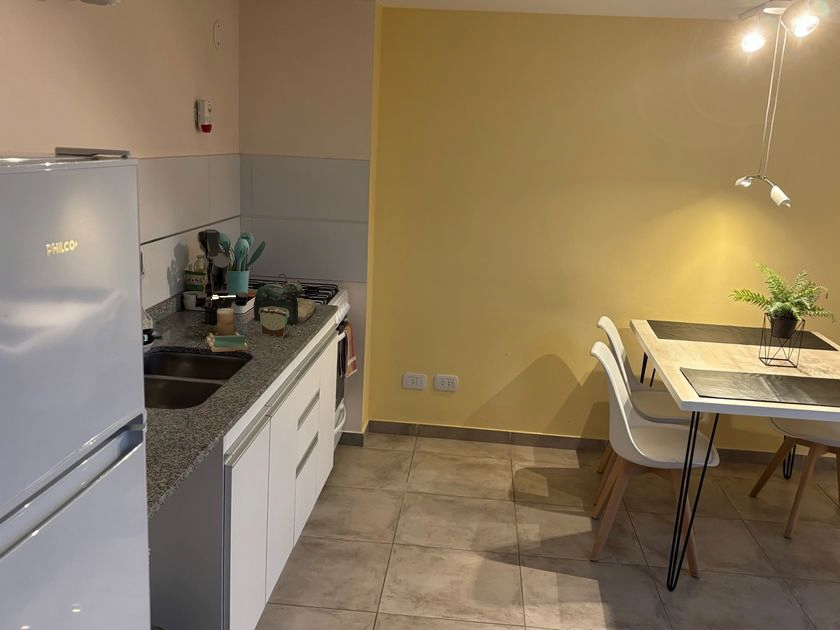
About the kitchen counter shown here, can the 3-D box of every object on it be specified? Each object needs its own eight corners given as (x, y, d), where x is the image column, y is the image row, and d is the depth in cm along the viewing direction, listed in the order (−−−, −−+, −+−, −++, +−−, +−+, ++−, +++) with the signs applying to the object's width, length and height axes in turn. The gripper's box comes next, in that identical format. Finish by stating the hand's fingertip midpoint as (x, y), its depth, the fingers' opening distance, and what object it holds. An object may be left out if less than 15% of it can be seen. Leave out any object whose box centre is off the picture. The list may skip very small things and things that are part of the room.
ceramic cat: (302, 323, 314) (303, 274, 309) (296, 326, 307) (297, 277, 303) (257, 317, 318) (258, 270, 314) (250, 321, 312) (251, 272, 308)
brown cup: (215, 336, 278) (215, 308, 276) (232, 335, 280) (232, 308, 278) (218, 340, 273) (218, 312, 270) (235, 339, 275) (235, 311, 273)
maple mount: (206, 340, 279) (206, 326, 278) (240, 338, 284) (240, 325, 283) (212, 351, 265) (212, 337, 264) (247, 350, 269) (247, 336, 268)
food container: (294, 334, 294) (295, 309, 292) (287, 338, 289) (287, 312, 286) (266, 330, 298) (266, 305, 296) (258, 333, 292) (258, 308, 290)
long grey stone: (284, 325, 315) (308, 327, 315) (285, 313, 313) (309, 315, 314) (296, 303, 348) (318, 305, 349) (297, 292, 347) (319, 294, 347)
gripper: (242, 295, 297) (246, 329, 289) (191, 296, 289) (195, 331, 282) (245, 278, 288) (250, 313, 280) (194, 279, 281) (197, 315, 273)
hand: (223, 318), depth 279 cm, fingers closed
